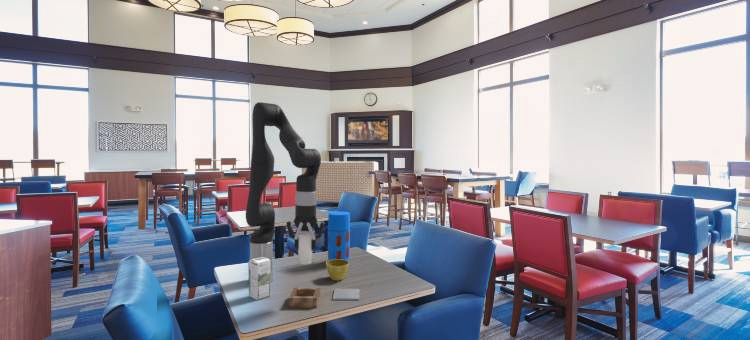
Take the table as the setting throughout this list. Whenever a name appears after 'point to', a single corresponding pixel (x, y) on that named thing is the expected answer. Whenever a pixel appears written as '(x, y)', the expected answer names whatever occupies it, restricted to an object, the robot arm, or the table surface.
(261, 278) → the syrup box
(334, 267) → the flower pot
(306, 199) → the robot arm
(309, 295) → the wooden tray
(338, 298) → the coaster
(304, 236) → the white lidded jar
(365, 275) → the table surface
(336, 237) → the thermos
